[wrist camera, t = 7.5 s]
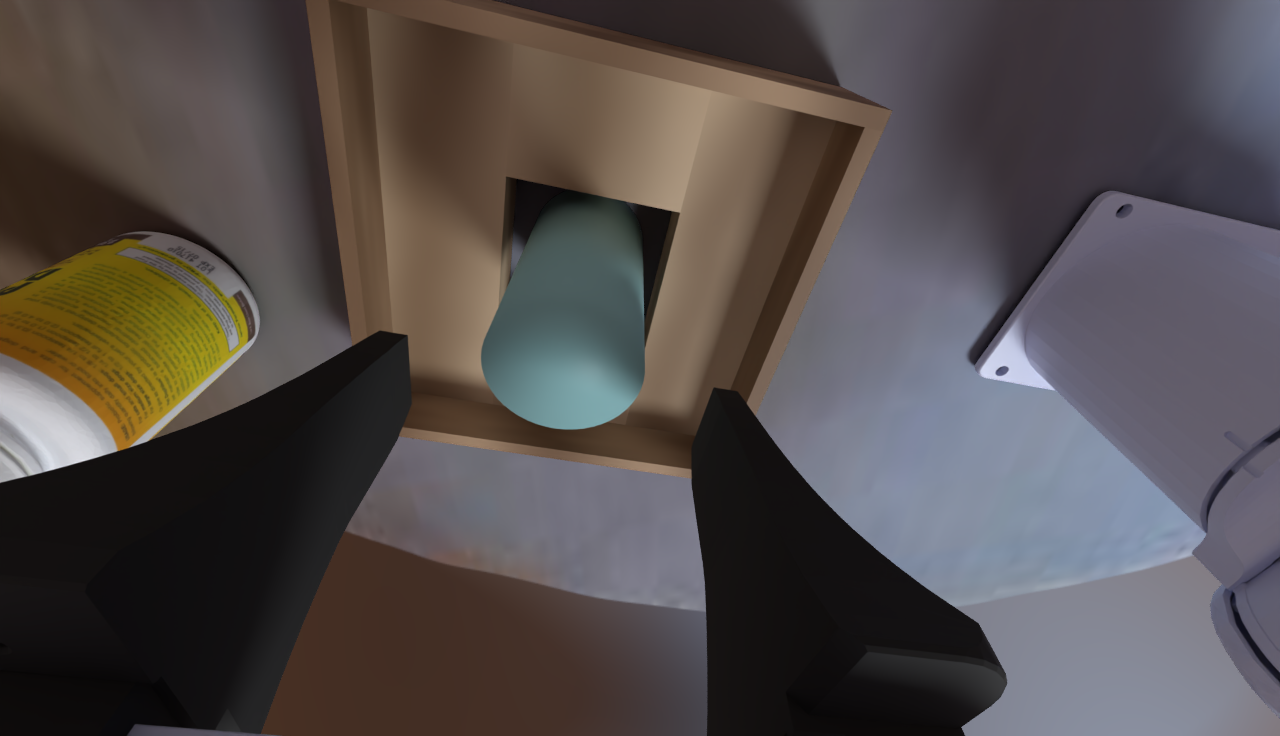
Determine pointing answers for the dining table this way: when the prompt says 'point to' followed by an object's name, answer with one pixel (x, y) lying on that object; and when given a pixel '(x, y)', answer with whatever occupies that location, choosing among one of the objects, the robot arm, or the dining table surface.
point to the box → (585, 162)
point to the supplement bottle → (113, 347)
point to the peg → (572, 317)
